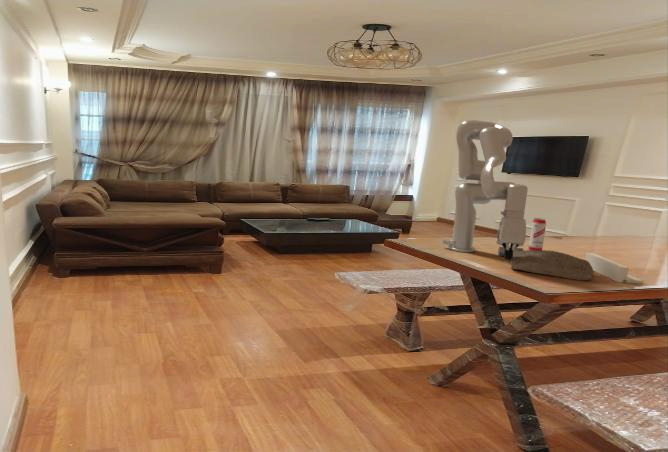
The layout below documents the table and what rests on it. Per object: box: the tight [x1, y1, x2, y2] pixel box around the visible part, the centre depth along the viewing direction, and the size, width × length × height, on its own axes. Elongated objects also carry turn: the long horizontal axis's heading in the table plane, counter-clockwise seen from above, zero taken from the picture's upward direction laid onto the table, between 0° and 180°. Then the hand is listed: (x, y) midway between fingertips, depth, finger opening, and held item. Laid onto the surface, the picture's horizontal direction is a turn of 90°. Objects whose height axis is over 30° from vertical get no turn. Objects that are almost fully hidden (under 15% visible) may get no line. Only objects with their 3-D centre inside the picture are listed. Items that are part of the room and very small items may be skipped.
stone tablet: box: [510, 249, 595, 281], centre depth 184 cm, size 20×8×30 cm
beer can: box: [528, 217, 547, 251], centre depth 221 cm, size 6×6×16 cm
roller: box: [497, 246, 525, 258], centre depth 205 cm, size 10×4×4 cm
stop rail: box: [584, 252, 644, 285], centre depth 185 cm, size 10×24×6 cm, turn 0°
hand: (507, 259), depth 184 cm, fingers closed
